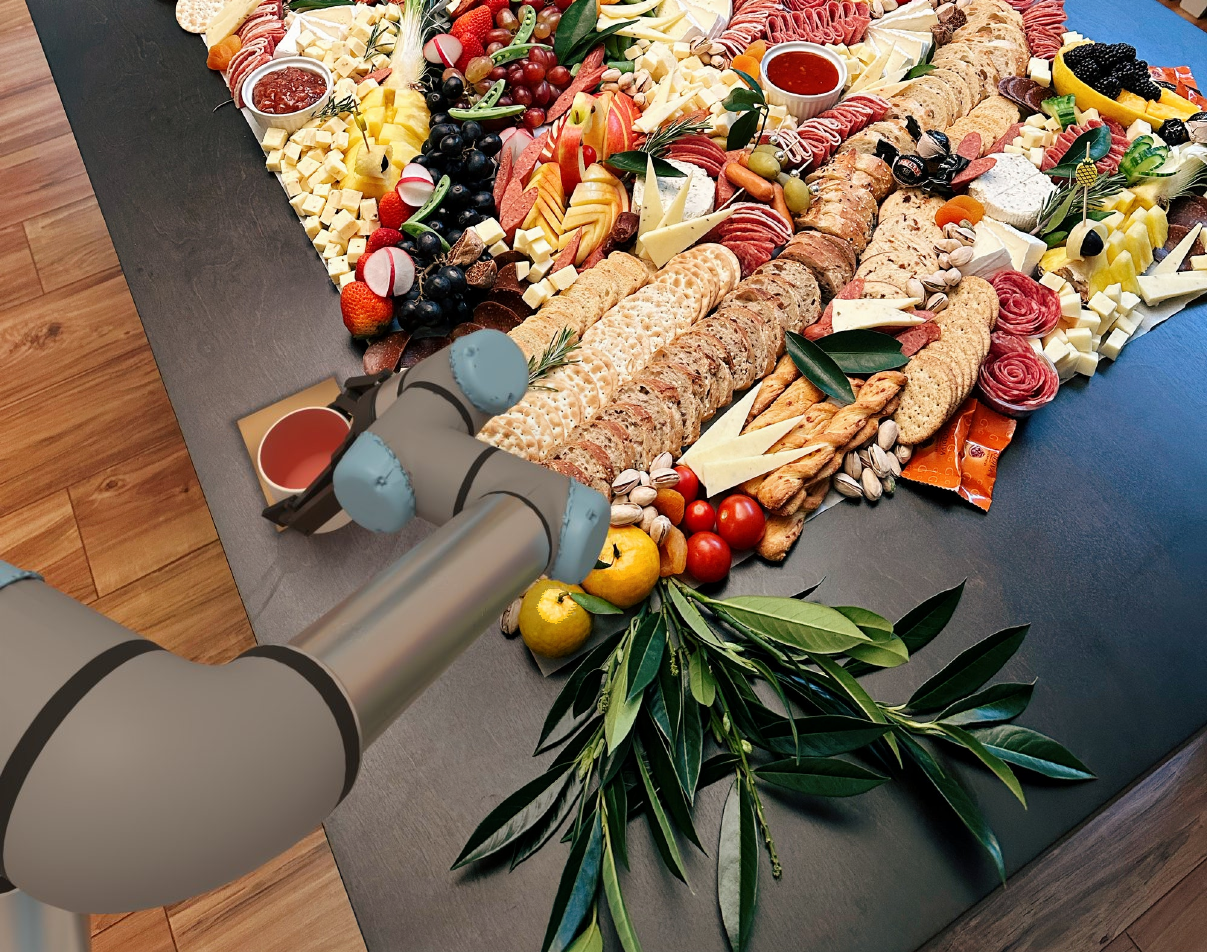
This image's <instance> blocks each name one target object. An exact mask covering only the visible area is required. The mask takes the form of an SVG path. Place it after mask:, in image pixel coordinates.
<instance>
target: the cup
mask: <svg viewBox="0 0 1207 952" xmlns="http://www.w3.org/2000/svg"><path fill="white" fill-rule="evenodd" d="M350 428H351V425H350V423H349V422H348V420H347V419H346V418H345V417H344V416H343V415H342V414H340V413H338V412H337V411H335V410H332V409H329V408H325V407H307V408H302V409H299V410H296V411H293V412H291V413H289V414H287V415H285V416H284V417H282V418H281V419H279V420H278V421H277V422H276V423H275V424H274V425H273V426H272V427H271V428H270V429H269V430H268V431H267V433H266V434H265V436H264V438H263V439H262V441H261V444H260V447H259V450H258V467H259V470H260V473H261V475H262V477H263V479H264V481H265V483H266V484H267V486H268V488H269V490H270V492H271V494H272V496H273V498H274V500H275V502H276V503H278V502H280V501H282V500H284V499H286V498H288V497H290V496H292V495H294V494H295V495H296V496H298V497H299V496H300V495H301V494H302V493H303V492H304V490H305V489H306V488H307V487H308V486H309V485H310V484H311V483H312V482H313V481H314V480H315V479H316V478H317V476H318V475H319V474H320V473H321V472H322V471H323V470H324V469H325V468H326V467H327V466H328V465H329V463H330V462H331V455H332V453H333V452H334V451H335V450H336V449H337V448H338V447H339V446H340V445H341V444H342V443H343V442H344V440H345V436H346V435H347V434H348V433H349V432H350ZM343 456H344V455H343ZM351 521H353V519H352V518H351V517H350V516H349V515H348V514H347V513H346V512H345V511H344V509H342V510H341V511H340V512H339V513H337V514H336V515H335V516H334V517H333V518H331V519H330V520H329V521H328V522H326V523H325V524H324V525H323V526H321V527H320V528H319V529H318V530H317V531H315V532H314V533H313V534H324V533H325V534H326V533H330V532H333V531H336V530H339V529H340V528H343V527H344V526H346V525H347V524H349V523H350V522H351Z"/></svg>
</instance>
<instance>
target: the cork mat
mask: <svg viewBox="0 0 1207 952" xmlns="http://www.w3.org/2000/svg"><path fill="white" fill-rule="evenodd" d="M340 393H342V391H341V390H340V387H339V385H338V383H337V381H336V379H335V376H332V377H330V378H328V379H325V380H324V381H321V382H319V383H317V384H315V385H313V386H311V387H308V388H306V389H304V390H302V391H300V392H297V393H295V394H293V395H291V396H289V397H287V398H284V399H282V400H280V401H277V402H275V403H273V404H270V405H269V406H267V407H265V408H262V409H260V410H258V411H256V412H254V413H251V414H249V415H247V416H245V417H243V418H240V419H239V420H237V421H236V423H237V425H238V428H239V430H240V433H241V436H242V439H243V441H244V443H245V446H246V449H247V452H248V454H249V457H250V459H251V462H252V465H253V467H254V471H255V474H256V475H257V478H258V480H259V484H260V486H261V489H262V492H263V494H264V497H265V499H266V502H267V505H268V507H270V506H272V505H274V504H276V502H275V500H274V498H273V496H272V494H271V492H270V490H269V488H268V486H267V484H266V483H265V481H264V479H263V477H262V475H261V473H260V470H259V467H258V450H259V447H260V444H261V441H262V439H263V438H264V436H265V434H266V433H267V431H268V430H269V429H270V428H271V427H272V426H273V425H274V424H275V423H276V422H277V421H278V420H279V419H281V418H282V417H284V416H285V415H287V414H289V413H291V412H293V411H296V410H299V409H302V408H307V407H326V406H327V405H329V404H330V403H332V402H334V401H335V400H336V397H337V396H338V395H339V394H340ZM348 414H350V413H348ZM350 415H352V414H350ZM349 423H350V425H351V426H352V423H353V416H352V419H351V421H350V422H349ZM275 527H276V529H277V531H278V533H281V532H283V531H286V530H287V529H290V527H288V526H285V527H283V528H282V527H280V526H279V525H277V524H275Z"/></svg>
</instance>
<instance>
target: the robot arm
mask: <svg viewBox="0 0 1207 952" xmlns="http://www.w3.org/2000/svg"><path fill="white" fill-rule="evenodd" d="M526 357H527V356H525V354H524V352H523V350H522V349H521V347H520V346H519V345H518V343H517V342H515V340H514V339H513V338H512V337H511V336H510V335H508V334H507V333H506V332H503V331H501V330H498V329H493V328H482V329H479V330H476V331H474V332H471V333H469V334H466V335H462V336H458V337H457V338H455V340H454V341H453V342H452V343H450V344H448V345H447V346H445V347H443V348H441V349H440V350H437V351H436V352H434V353H433V354H431V355H429V356H427V357H425V358H424V359H422V360H421V361H419V362H417V363H415V364H412V365H410V366H409V367H407V368H405V369H403V370H401V371H400V372H395V371H393V370H391V369H390V368H389V367H384V368H383V369H381V370H380V371H378V372H376V373H371V374H364V375H357V376H351V377H348V378H347V379H345V381H344V383H343V388H344V389H345V390H344V393H342V392H341V393H340V394H339V395H338V396H337V397H336V400H335V401H334V402H332V403H330V404H329V405H327V406H326V407H325V408H329V409H332V410H335V411H337V412H338V413H340V414H342V415H343V416H344V417H345V418H346V419H347V420H348V422H350V421H351V419H352V417H353V423H352V426H351V428H350V432H349V433H348V434H347V435H346V436H345V440H344V442H343V443H342V444H341V445H340V446H339V447H338V448H337V449H336V450H335V451H334V452H333V453H332V455H331V462H330V463H329V465H328V466H327V467H326V468H325V469H324V470H323V471H322V472H321V473H320V474H319V475H318V476H317V478H316V479H315V480H314V481H313V482H312V483H311V484H310V485H309V486H308V487H307V488H306V489H305V490H304V492H303V493H302V494H301V495H300V496H299V497H298V496H296V495H295V494H294V495H292V496H290V497H288V498H286V499H284V500H282V501H280V502H278V503H276V504H274V505H272V506H270V507H269V506H268V507H266V508H264V509H263V510H262V513H261V515H260V517H262V518H263V519H265V520H268V521H269V522H271V523H273V524H275V525H276V524H277V525H279V526H280V527H282V528H283V527H285V526H288V527H289V529H291V530H293V531H294V532H297V533H299V534H301V535H303V536H305V537H306V538H309V537H311V536H312V535H313V534H315V533H314V532H315V531H317V530H318V529H319V528H320V527H321V526H323V525H324V524H325V523H326V522H328V521H329V520H330V519H331V518H333V517H334V516H335V515H336V514H337V513H339V512H340V511H341V510H342V509H344V511H345V512H346V513H347V514H348V515H349V516H350V517H351V518H352V521H354V522H355V523H356V524H358V525H359V526H360V527H361V528H364V529H365V530H368V531H370V532H372V533H374V534H381V533H383V534H386V535H387V534H388V535H390V534H396V533H398V532H399V531H401V530H402V529H403V528H404V527H405V526H407V525H409V524H411V522H412V521H413V520H414V519H415V517H416V518H420V519H422V520H425V521H426V522H428V523H430V524H433V525H435V526H437V527H438V528H437V529H436V530H435V531H433V532H432V533H431V534H430V535H427V536H426V537H425V538H424V539H423V540H422V541H419V543H418V544H416V545H415V546H414V547H411V549H409V550H408V551H406V552H405V553H404V554H403V555H402V556H400V557H399V558H398V559H396V560H395V561H393V562H392V563H391V564H389V565H388V566H387V567H385V568H384V569H383V570H382V571H380V572H379V573H377V574H376V575H375V576H373V577H372V578H371V579H370V580H368V581H367V582H366V583H364V584H363V585H361V586H360V587H359V588H358V589H356V590H355V591H353V592H352V593H351V594H349V595H348V596H347V597H345V598H344V599H343V600H342V601H340V602H339V603H337V604H336V605H334V606H333V607H332V608H331V609H329V610H328V611H327V612H325V613H324V614H323V615H321V616H320V617H319V618H317V619H315V621H313V622H312V623H310V624H309V625H308V626H307V627H305V628H304V629H303V630H302V631H300V632H299V633H297V634H296V635H295V636H294V637H292V638H291V639H289V640H288V641H286V642H285V643H284V642H275V641H274V642H263V643H260V644H256V645H254V646H251V647H249V648H247V649H245V650H244V651H243V652H241V653H240V654H238V655H237V656H236V657H234V658H233V659H231V660H230V661H229V662H227V663H225V664H224V663H223V664H208V663H207V664H206V663H200V662H195V661H192V660H190V659H187V658H185V657H183V656H181V655H178V654H176V653H174V652H172V651H170V650H169V649H167V648H165V647H163V646H161V645H160V644H158V643H156V642H155V641H153V640H151V639H149V638H147V637H145V636H143V635H142V634H139V633H138V632H136V631H135V630H132V629H131V628H129V627H127V626H126V625H123V624H121V623H119V622H118V621H116V620H114V619H112V618H110V617H109V616H107V615H105V614H103V613H101V612H99V611H98V610H96V609H94V608H92V607H91V606H88V605H87V604H85V603H82V602H81V601H80V600H78V599H75V597H72V596H70V595H68V594H66V593H65V592H63V591H61V590H60V589H58V588H55V587H54V586H51V585H50V584H48V583H46V579H45V577H44V576H43V575H42V574H41V573H39V572H37V571H36V570H24V569H22V568H21V567H18V566H16V565H13V564H11V563H9V562H8V561H6V560H3V559H0V952H93V947H92V944H93V943H92V942H93V941H92V918H91V917H92V915H120V914H127V913H136V912H142V911H147V910H151V909H157V908H162V907H166V906H172V905H174V904H177V903H180V902H184V901H186V900H189V899H192V898H195V897H198V896H200V895H204V894H207V893H210V892H212V891H215V890H218V889H219V888H221V887H224V886H226V885H229V884H230V883H233V882H234V881H236V880H238V879H241V878H243V877H245V876H247V875H249V874H251V873H253V872H255V871H256V870H258V869H259V868H262V866H265V865H266V864H268V863H269V862H271V861H272V860H274V859H276V858H277V857H280V856H281V855H282V854H284V853H286V852H287V851H289V850H291V849H292V848H293V847H295V846H296V845H297V844H298V843H299V842H302V841H303V840H304V839H305V838H306V837H308V835H310V834H311V833H312V832H314V831H315V830H316V829H317V828H318V827H319V826H320V825H321V824H322V823H323V821H325V820H326V819H327V818H328V816H330V815H331V814H332V813H333V812H334V810H336V809H337V807H338V806H339V805H341V803H342V802H343V801H344V800H345V799H346V798H347V797H348V796H349V794H350V793H351V792H352V790H353V789H354V787H355V786H356V784H357V781H358V779H359V776H360V773H361V770H362V765H363V758H364V753H365V752H366V751H367V750H368V749H369V748H370V747H371V746H372V745H373V744H374V743H375V742H376V741H377V740H379V738H380V737H381V736H382V735H383V734H384V733H385V732H386V731H387V730H388V729H389V728H390V727H391V726H392V725H393V724H394V723H395V722H396V721H397V720H398V719H399V718H400V717H401V716H402V715H403V714H404V713H405V712H406V711H407V710H408V709H409V708H411V706H412V705H413V704H414V703H415V702H416V701H417V700H418V699H419V698H420V697H421V696H422V695H423V694H424V693H425V692H427V690H428V689H429V688H430V687H431V686H432V685H433V684H434V683H435V682H436V681H437V680H439V678H440V677H441V676H442V675H443V674H444V673H445V672H446V671H447V670H448V669H449V668H450V667H451V666H452V665H453V664H454V663H456V662H457V660H458V659H459V658H460V657H461V656H462V655H464V653H465V652H466V651H467V650H468V649H469V648H470V647H471V646H472V645H473V644H474V643H475V642H476V641H478V639H479V638H480V637H481V636H482V635H483V634H484V633H485V632H486V631H487V630H488V629H489V628H490V627H491V626H492V625H493V624H494V623H495V622H496V621H497V620H498V619H499V618H500V617H501V616H502V615H503V614H504V613H505V612H506V611H507V610H508V609H509V608H510V607H511V606H512V605H513V604H514V603H515V602H516V601H517V600H518V599H519V598H520V597H521V596H522V595H523V594H524V593H525V592H526V591H527V590H528V589H529V588H530V587H531V586H532V585H533V584H534V583H535V582H536V581H537V580H538V579H539V578H541V577H542V576H545V577H546V578H547V579H548V580H549V581H550V582H554V581H557V582H560V583H562V584H565V585H567V586H573V585H574V586H578V585H580V584H581V583H583V582H584V581H585V580H586V579H587V578H588V576H589V575H590V574H592V573H591V572H592V571H593V569H594V568H595V566H596V564H597V562H598V560H599V558H600V556H601V554H602V551H603V549H604V547H605V544H606V541H607V537H608V535H609V531H610V526H611V521H612V506H611V502H610V501H609V499H608V497H607V496H606V495H605V494H604V493H602V492H601V491H599V490H596V489H595V488H593V487H590V486H589V485H587V484H585V483H583V482H580V481H579V480H577V479H576V477H574V476H572V475H569V476H568V475H565V474H563V473H559V472H558V471H556V470H553V469H551V468H548V467H546V466H543V465H541V464H538V463H536V462H534V461H531V460H529V459H527V458H524V457H522V456H519V455H517V454H514V453H512V452H509V451H507V450H505V449H502V448H500V447H497V446H495V445H492V444H491V443H488V442H487V441H483V440H481V439H479V438H476V437H478V435H479V434H480V432H481V431H483V428H484V427H485V426H486V425H487V424H488V423H489V422H490V421H491V420H492V419H494V418H495V417H500V416H502V415H505V414H506V413H508V411H509V410H510V409H512V408H514V407H515V406H517V405H518V404H519V403H520V402H521V401H522V400H523V399H524V397H525V395H526V394H527V391H528V389H529V383H530V367H529V363H528V361H527V358H526ZM348 413H350V414H351V415H350V414H348ZM343 455H344V456H343Z"/></svg>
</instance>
